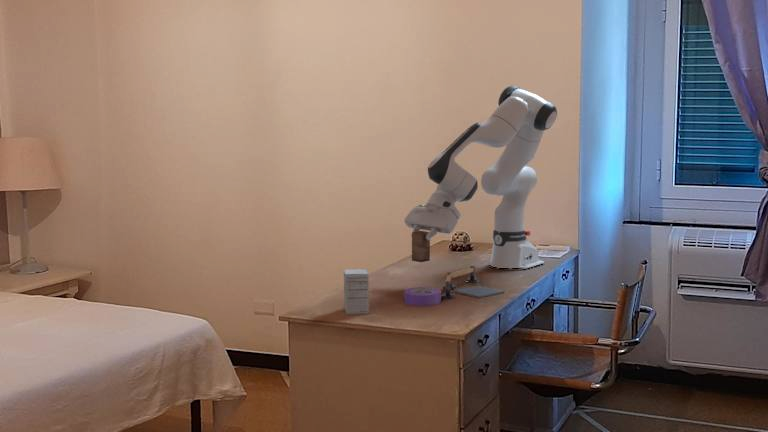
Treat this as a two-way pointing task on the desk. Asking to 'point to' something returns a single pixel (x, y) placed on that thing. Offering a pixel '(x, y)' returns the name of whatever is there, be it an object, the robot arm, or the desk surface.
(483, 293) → the slate pad
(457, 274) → the hinged wooden linkage
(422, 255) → the tan stacked post
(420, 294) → the masking tape
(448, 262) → the desk surface
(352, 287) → the supplement box
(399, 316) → the desk surface
